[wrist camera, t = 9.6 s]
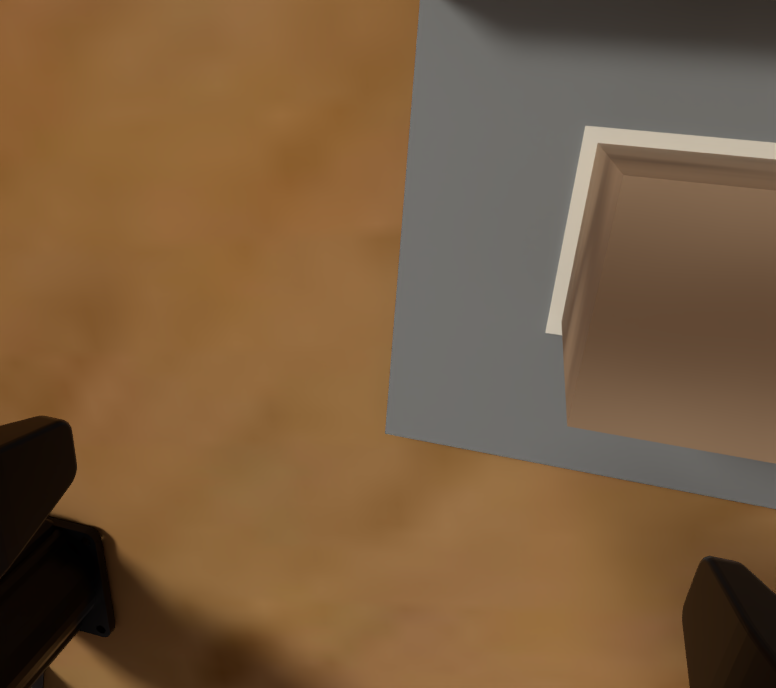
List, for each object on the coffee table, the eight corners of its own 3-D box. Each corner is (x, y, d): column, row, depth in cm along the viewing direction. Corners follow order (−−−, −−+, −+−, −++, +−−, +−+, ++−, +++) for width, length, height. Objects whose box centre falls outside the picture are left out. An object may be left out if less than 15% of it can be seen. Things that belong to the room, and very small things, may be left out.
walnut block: (746, 349, 17) (839, 475, 11) (561, 321, 18) (567, 426, 12) (810, 162, 15) (961, 209, 9) (597, 142, 16) (623, 174, 10)
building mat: (898, 518, 19) (965, 600, 16) (390, 422, 22) (365, 475, 19) (1207, -65, 12) (1414, -110, 9) (433, -86, 15) (405, -126, 12)
